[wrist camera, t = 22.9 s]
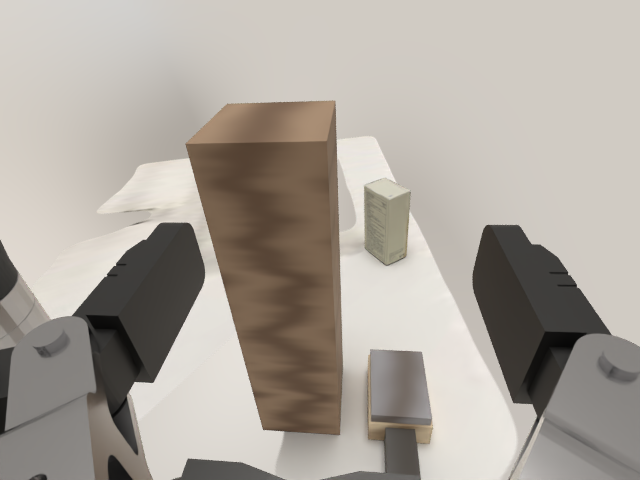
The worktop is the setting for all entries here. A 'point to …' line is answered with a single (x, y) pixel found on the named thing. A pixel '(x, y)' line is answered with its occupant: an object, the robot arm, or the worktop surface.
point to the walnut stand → (279, 252)
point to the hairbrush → (398, 407)
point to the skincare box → (386, 219)
